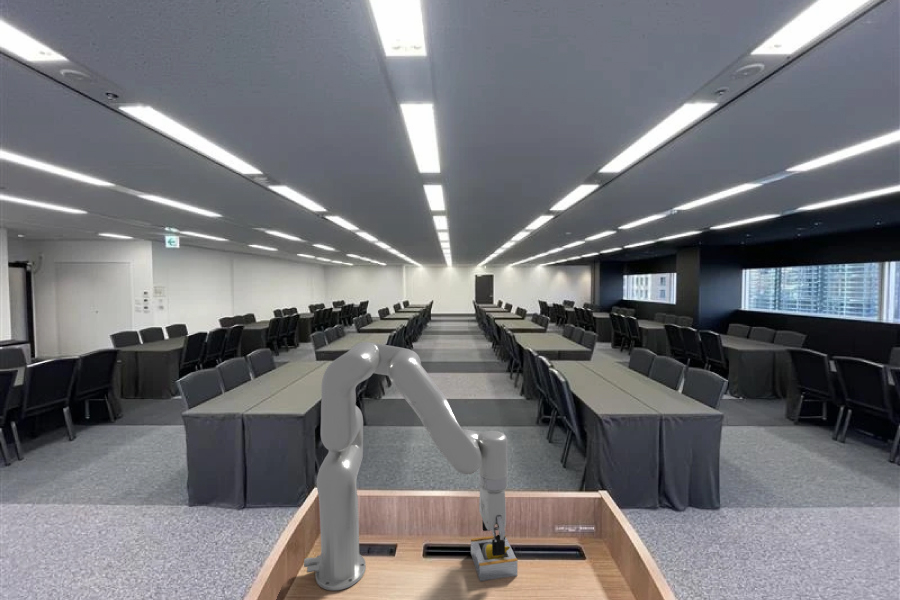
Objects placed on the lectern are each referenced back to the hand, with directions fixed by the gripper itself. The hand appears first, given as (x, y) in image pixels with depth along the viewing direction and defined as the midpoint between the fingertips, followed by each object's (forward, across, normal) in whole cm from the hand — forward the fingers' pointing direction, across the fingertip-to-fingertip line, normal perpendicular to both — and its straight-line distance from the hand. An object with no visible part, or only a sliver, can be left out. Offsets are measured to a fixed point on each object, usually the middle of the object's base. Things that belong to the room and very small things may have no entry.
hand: (493, 541), depth 104 cm
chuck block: (+6, 0, 0) cm, 6 cm away
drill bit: (+6, 0, 0) cm, 6 cm away
